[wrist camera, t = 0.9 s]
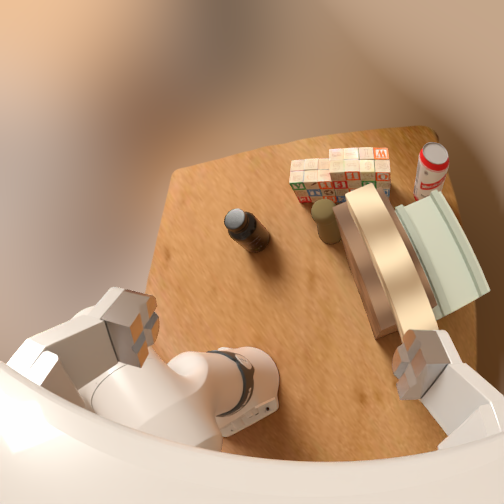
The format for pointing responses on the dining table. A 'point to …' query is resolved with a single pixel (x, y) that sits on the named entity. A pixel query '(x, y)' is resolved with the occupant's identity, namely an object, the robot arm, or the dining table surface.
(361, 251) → the walnut pedestal
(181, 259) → the dining table surface
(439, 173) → the beer can
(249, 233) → the supplement bottle
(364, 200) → the tan block
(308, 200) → the stack of blocks
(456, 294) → the sage step
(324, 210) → the cork
